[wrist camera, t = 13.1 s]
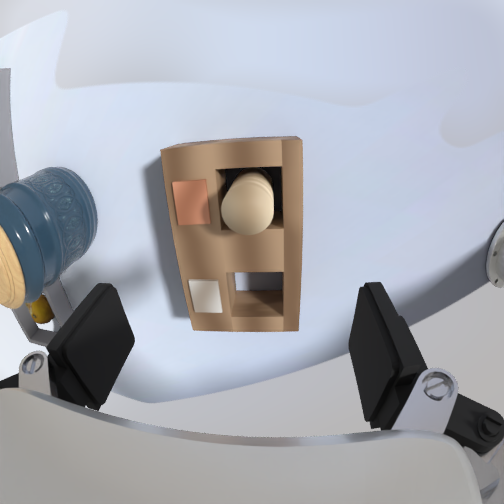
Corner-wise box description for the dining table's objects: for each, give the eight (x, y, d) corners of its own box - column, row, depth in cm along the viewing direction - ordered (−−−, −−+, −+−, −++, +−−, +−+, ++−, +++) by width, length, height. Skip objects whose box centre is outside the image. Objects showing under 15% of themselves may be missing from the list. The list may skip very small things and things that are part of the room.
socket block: (296, 136, 26) (302, 140, 21) (295, 304, 35) (298, 333, 30) (178, 144, 27) (159, 150, 22) (201, 304, 36) (192, 332, 31)
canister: (118, 222, 31) (23, 309, 15) (70, 269, 35) (-2, 348, 19) (61, 143, 27) (-52, 185, 11) (22, 204, 31) (-62, 259, 15)
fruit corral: (58, 275, 36) (45, 287, 33) (88, 342, 42) (79, 355, 39) (10, 273, 37) (-1, 282, 34) (37, 331, 43) (29, 342, 40)
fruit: (23, 274, 37) (11, 285, 34) (54, 294, 38) (43, 307, 35) (27, 306, 41) (17, 317, 37) (57, 326, 42) (48, 338, 38)
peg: (272, 166, 27) (273, 184, 20) (273, 204, 29) (274, 234, 22) (232, 168, 28) (218, 186, 20) (235, 205, 29) (223, 235, 22)
